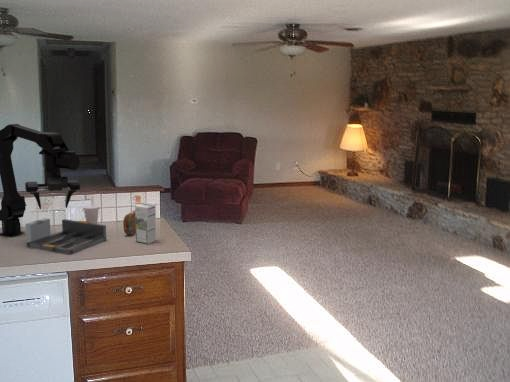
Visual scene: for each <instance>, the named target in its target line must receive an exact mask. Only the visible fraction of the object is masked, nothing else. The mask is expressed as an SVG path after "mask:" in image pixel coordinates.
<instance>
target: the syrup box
mask: <svg viewBox="0 0 510 382" xmlns="http://www.w3.org/2000/svg"><path fill="white" fill-rule="evenodd" d="M134 210H135V221H136V233H135V242H136V243H141V244H146V245H148V244H151V243H154V242H156V241H157V232H156V231H157V229H156V226H157V225H156V223H157V219H156V210H157V209H156V204H153V203H148V202H147V203H145V202H141V203H139V204H136V205H134Z"/></svg>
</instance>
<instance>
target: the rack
mask: <svg viewBox="0 0 510 382" xmlns="http://www.w3.org/2000/svg"><path fill="white" fill-rule="evenodd" d="M61 223H62V224H61V226H62V230H61V231H59V232H56V233H53V234H51V235H49V236H46V237H43V238H40V239H37V240H34V241H31V242H26V247H27V248H31V249H36V250H40V251H42V250H43V251H48V252H53V253H58V254H64V255H69V256H71V255H73V254H76V253H78V252H81V251H84V250H85V249H88V248H91V247H93V246H97V245H98V244H101V243H103V242H106V241H107V225H106V224H99V223H97V224H94V223H90V222H87V221H86V220H82V219H81V220H73V219H66V218H65V219H62V220H61ZM81 243H82V244H81Z"/></svg>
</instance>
